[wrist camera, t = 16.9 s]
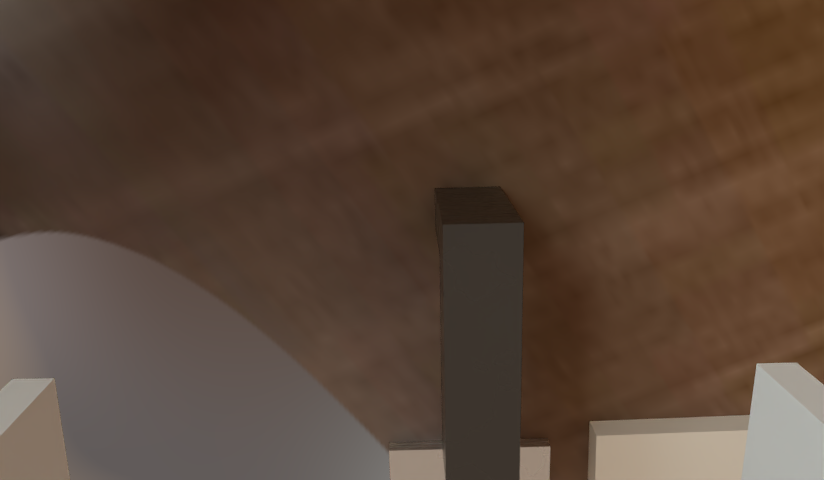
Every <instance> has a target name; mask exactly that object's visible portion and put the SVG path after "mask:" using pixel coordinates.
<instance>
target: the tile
mask: <svg viewBox="0 0 824 480" xmlns="http://www.w3.org/2000/svg"><path fill="white" fill-rule="evenodd" d="M749 418H750V415H739V416H713V417H687V418H660V419H634V420H608V421H589V457H588V480H741V477H742V470H743V463H744V455H745V448H746V440H747V433H748V425H749Z"/></svg>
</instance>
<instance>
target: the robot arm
mask: <svg viewBox="0 0 824 480" xmlns="http://www.w3.org/2000/svg"><path fill="white" fill-rule="evenodd" d="M0 480H70V476H69V469H68V463H67V457H66V450H65V444H64V437H63V431H62V424H61V417H60V411H59V404H58V397H57V391H56V385H55V378H36V379H35V378H34V379H12V380H11V381H10V382H9V383H7V384H6V385H5V386H4V387H3V388H2V389H1V390H0ZM741 480H824V385H823V384H822V383H821V382H820V381H818V380H817V379H816V378H815V377H813V376H812V375H811V374H810V373H809V372H807V371H806V370H805V369H804V368H802V367H801V366H800V365H799V364H798V363H757V366H756V374H755V381H754V388H753V396H752V403H751V411H750V418H749V425H748V433H747V440H746V448H745V455H744V463H743V470H742V477H741Z"/></svg>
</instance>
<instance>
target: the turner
mask: <svg viewBox="0 0 824 480" xmlns="http://www.w3.org/2000/svg"><path fill="white" fill-rule="evenodd" d="M435 226H436V236H437V242H438V248H439V254H440V320H441V392H442V441H421V442H389V464H390V480H549V479H550V444H549V441H548V438H535V439H520V425H521V365H522V305H523V245H524V222H523V221H522V219H521V218H520V216H519V215H518V213H517V212H516V210H515V208H514V207H513V205H512V204H511V202H510V201H509V199H508V198H507V196H506V195H505V193H504V192H503V190H502V189H501V187H464V188H435Z"/></svg>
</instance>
